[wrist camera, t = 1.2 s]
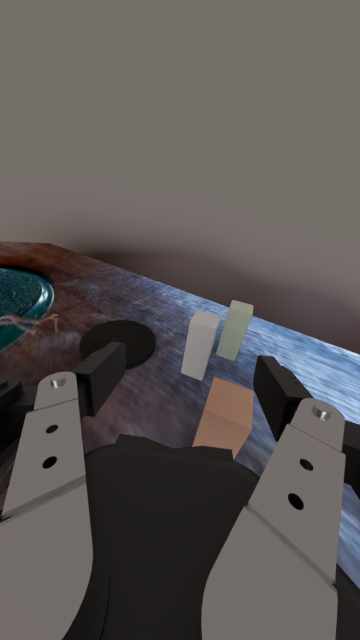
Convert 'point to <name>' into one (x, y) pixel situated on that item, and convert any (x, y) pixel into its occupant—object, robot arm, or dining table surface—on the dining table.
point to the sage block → (234, 329)
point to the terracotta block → (225, 417)
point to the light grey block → (199, 344)
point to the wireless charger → (120, 340)
